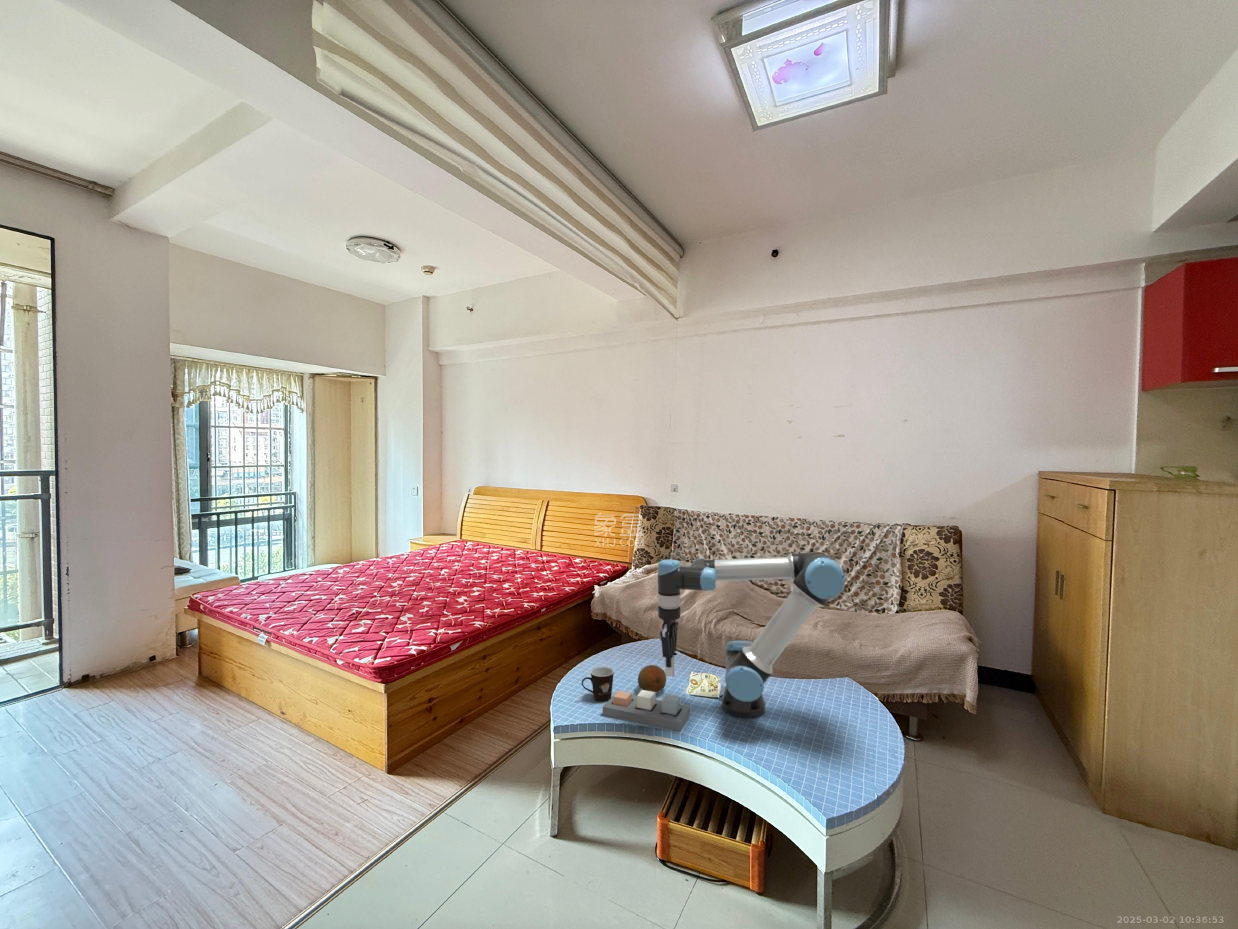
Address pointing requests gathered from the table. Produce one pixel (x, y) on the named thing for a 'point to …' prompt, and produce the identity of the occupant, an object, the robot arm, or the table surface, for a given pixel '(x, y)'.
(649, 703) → the key ivory
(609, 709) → the grey slotted tray
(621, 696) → the key terracotta
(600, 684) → the coffee mug
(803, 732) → the table surface
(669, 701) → the key slate
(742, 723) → the table surface
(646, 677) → the fruit
